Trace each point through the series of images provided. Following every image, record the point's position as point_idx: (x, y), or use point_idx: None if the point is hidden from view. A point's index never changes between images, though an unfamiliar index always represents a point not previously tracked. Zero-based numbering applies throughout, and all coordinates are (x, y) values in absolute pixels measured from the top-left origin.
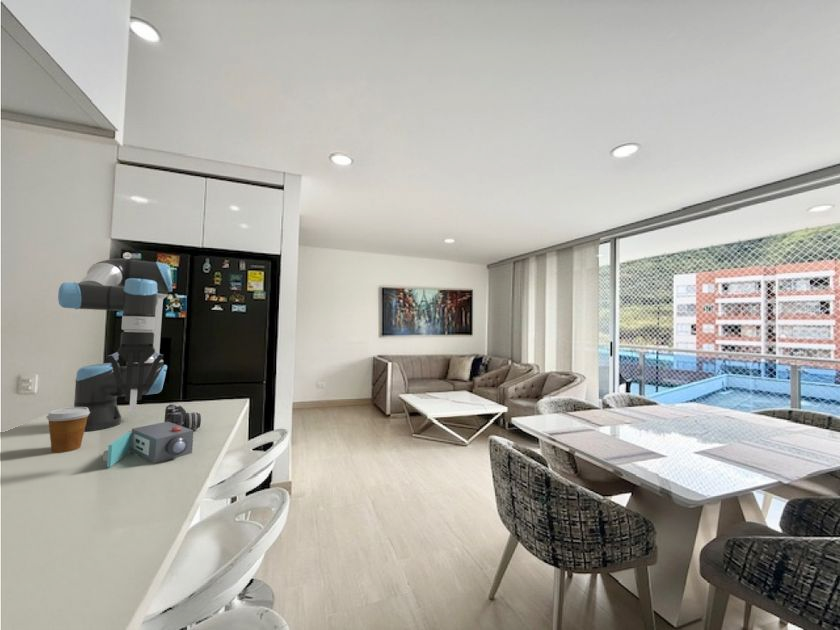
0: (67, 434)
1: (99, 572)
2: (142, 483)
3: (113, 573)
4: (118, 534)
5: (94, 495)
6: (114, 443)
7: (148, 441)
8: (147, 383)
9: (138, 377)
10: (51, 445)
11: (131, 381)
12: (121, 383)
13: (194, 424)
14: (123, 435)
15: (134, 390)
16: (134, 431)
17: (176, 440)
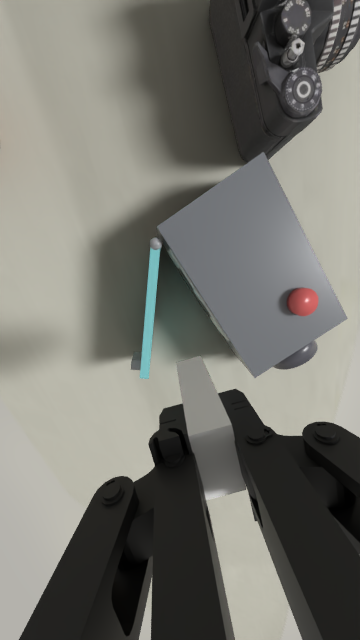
0: None
1: (233, 629)
2: None
3: (245, 633)
4: (233, 577)
5: None
6: (149, 366)
7: (225, 337)
8: (337, 513)
9: (303, 630)
10: None
11: (223, 587)
12: (141, 589)
13: (326, 67)
14: (149, 289)
15: (228, 492)
16: (169, 247)
17: (297, 364)
